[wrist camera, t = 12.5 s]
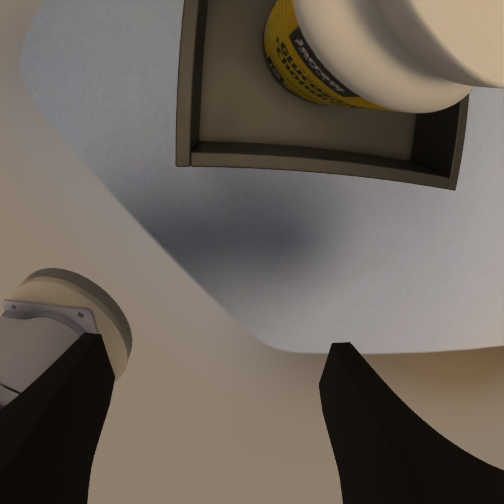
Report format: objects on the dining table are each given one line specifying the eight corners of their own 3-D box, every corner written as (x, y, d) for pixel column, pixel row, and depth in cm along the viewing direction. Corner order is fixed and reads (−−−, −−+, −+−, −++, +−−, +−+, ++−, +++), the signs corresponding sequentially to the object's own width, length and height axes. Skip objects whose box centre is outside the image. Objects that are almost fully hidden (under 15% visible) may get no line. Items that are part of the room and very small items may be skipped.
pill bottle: (233, 43, 13) (250, -81, 3) (321, -24, 11) (438, -136, 1) (322, 131, 15) (480, 192, 5) (400, 62, 14) (576, 58, 3)
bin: (188, 151, 16) (175, 167, 12) (203, -50, 11) (197, -90, 7) (412, 170, 17) (455, 190, 13) (423, -8, 12) (466, -24, 8)
